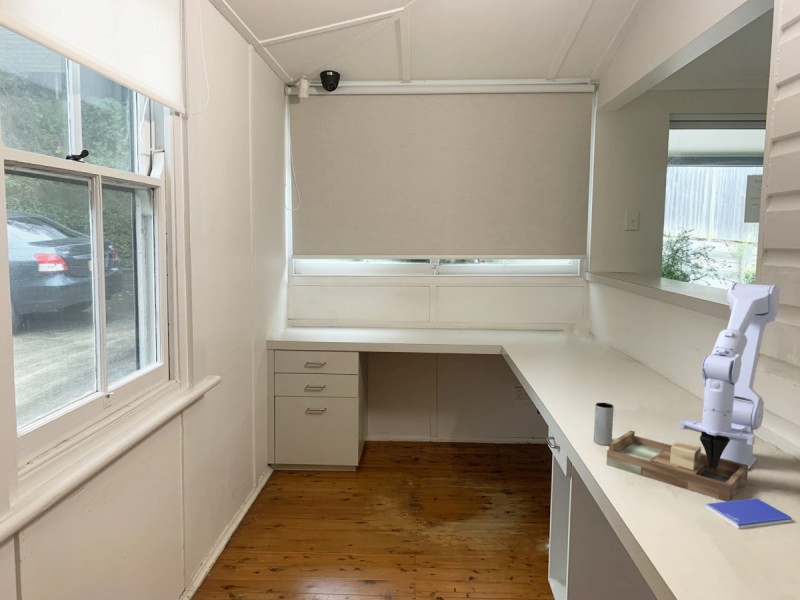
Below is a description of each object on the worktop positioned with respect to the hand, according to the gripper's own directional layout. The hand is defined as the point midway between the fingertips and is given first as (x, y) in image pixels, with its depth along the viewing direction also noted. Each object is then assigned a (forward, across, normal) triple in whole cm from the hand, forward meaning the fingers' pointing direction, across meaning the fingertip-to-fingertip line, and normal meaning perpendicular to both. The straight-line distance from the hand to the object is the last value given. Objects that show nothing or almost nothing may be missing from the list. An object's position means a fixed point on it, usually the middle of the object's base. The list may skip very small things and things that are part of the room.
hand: (713, 466), depth 122 cm
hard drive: (+4, +9, -13) cm, 16 cm away
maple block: (+1, -6, 0) cm, 6 cm away
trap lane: (+3, -7, -2) cm, 8 cm away
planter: (+3, -27, +4) cm, 28 cm away
